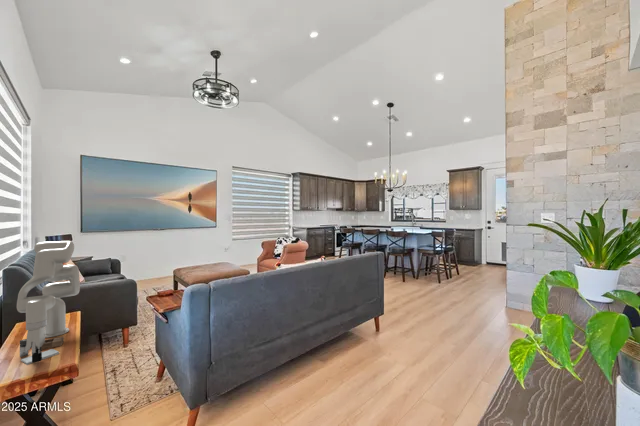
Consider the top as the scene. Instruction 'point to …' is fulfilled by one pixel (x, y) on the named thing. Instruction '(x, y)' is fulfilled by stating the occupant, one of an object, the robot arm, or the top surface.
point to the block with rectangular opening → (53, 342)
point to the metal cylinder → (23, 348)
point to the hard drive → (44, 355)
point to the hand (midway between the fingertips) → (36, 361)
